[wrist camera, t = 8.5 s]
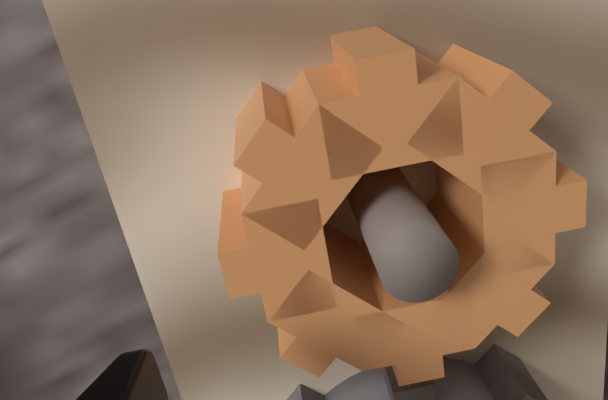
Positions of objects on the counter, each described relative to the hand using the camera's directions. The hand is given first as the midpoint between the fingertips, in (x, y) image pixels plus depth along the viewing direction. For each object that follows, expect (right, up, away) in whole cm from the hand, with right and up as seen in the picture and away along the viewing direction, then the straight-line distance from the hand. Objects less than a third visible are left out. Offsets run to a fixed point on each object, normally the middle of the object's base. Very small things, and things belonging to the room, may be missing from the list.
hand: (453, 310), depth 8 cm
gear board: (0, -1, +8) cm, 8 cm away
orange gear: (-1, +2, +5) cm, 6 cm away
